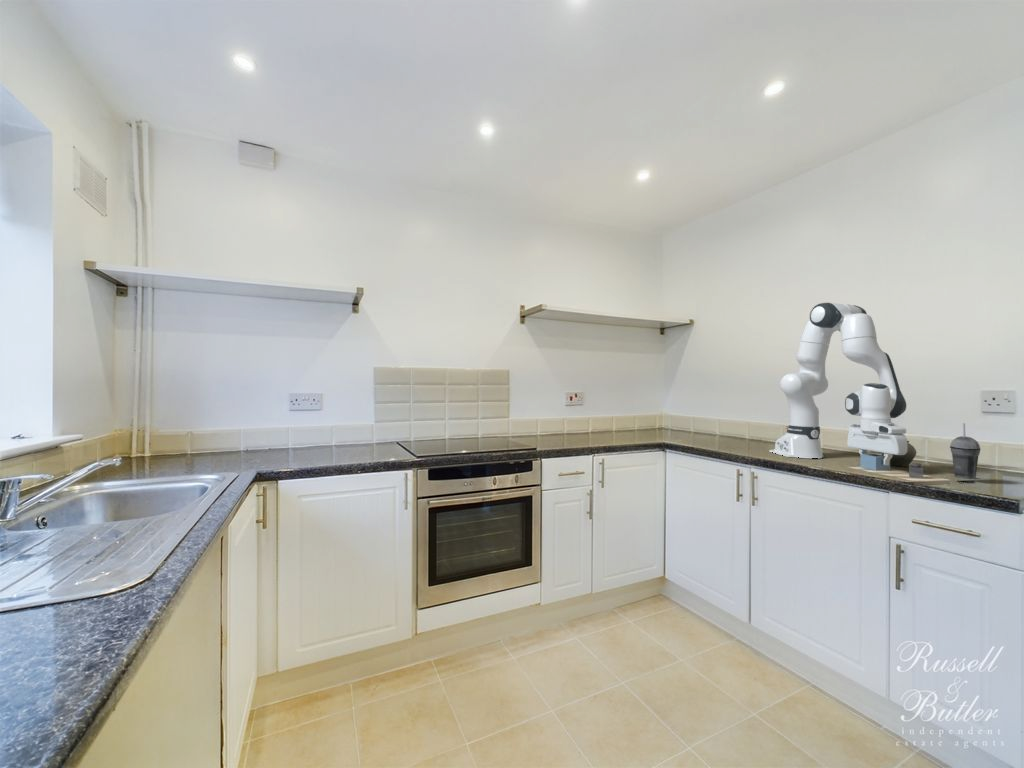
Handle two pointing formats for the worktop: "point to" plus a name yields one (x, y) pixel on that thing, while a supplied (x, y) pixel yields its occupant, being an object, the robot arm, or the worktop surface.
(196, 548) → the worktop surface
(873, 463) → the collar
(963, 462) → the beverage cup
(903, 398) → the robot arm
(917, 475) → the assembly board
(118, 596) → the worktop surface
